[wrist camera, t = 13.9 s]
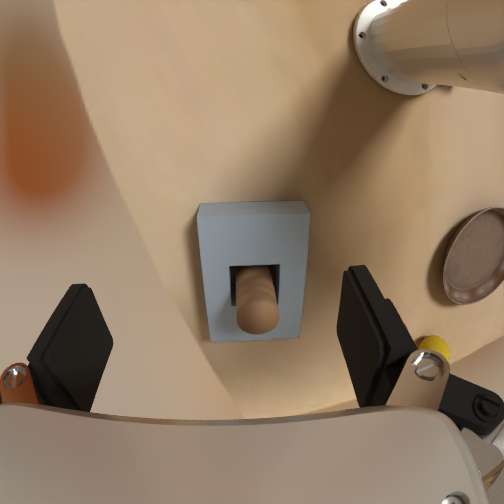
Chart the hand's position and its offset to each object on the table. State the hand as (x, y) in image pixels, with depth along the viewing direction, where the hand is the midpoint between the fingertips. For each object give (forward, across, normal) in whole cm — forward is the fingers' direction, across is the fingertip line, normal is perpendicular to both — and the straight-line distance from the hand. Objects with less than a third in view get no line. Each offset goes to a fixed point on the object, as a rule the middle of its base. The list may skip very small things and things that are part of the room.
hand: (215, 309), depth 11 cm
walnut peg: (+26, -1, +15) cm, 30 cm away
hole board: (+26, -1, +15) cm, 30 cm away
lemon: (+26, -32, +34) cm, 53 cm away
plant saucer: (+27, -38, +16) cm, 49 cm away
